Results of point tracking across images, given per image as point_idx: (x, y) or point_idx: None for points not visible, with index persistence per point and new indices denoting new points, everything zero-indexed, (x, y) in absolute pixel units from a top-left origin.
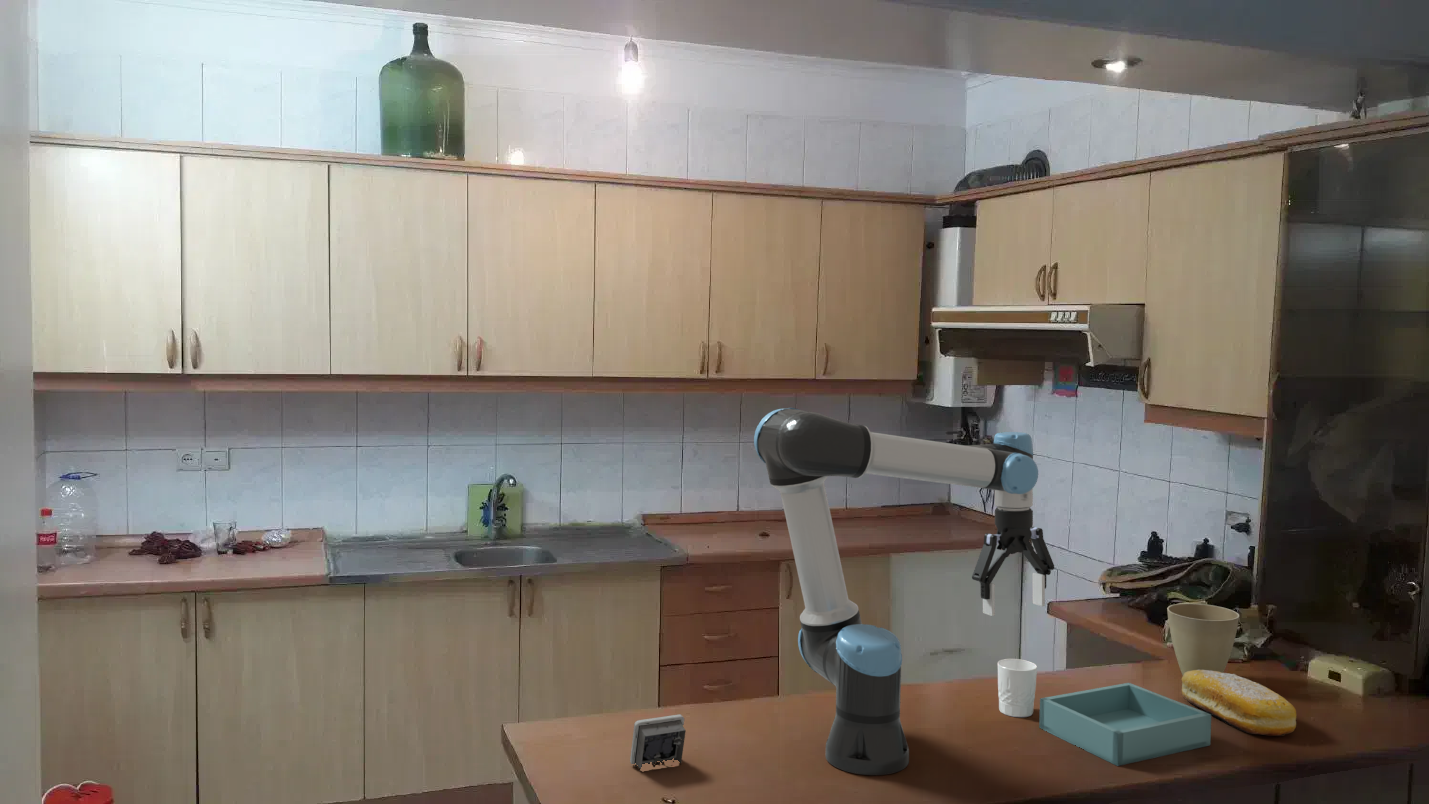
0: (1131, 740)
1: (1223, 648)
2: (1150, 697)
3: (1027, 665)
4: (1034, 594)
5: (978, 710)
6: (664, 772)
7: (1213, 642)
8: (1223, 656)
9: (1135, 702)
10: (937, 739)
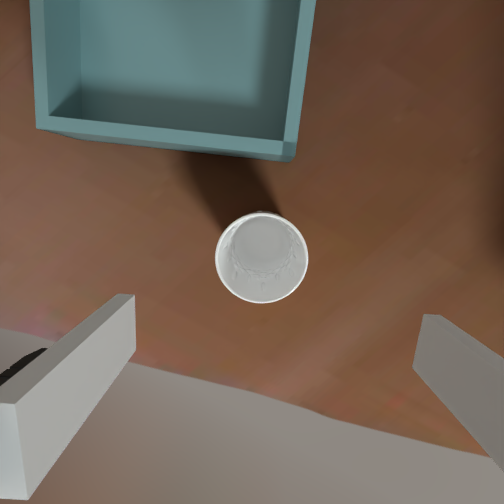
0: None
1: None
2: (52, 52)
3: (221, 261)
4: (115, 365)
5: (313, 275)
6: None
7: None
8: None
9: (70, 104)
10: (480, 215)
